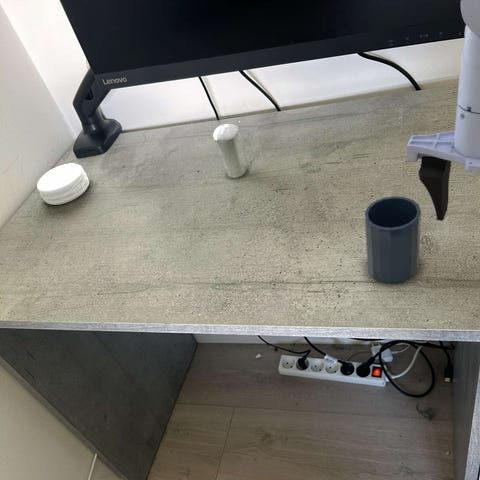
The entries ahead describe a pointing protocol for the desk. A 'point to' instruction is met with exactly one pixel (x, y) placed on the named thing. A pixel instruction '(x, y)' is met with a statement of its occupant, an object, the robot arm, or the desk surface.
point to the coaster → (63, 184)
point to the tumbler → (393, 239)
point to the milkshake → (230, 149)
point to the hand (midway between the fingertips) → (474, 218)
